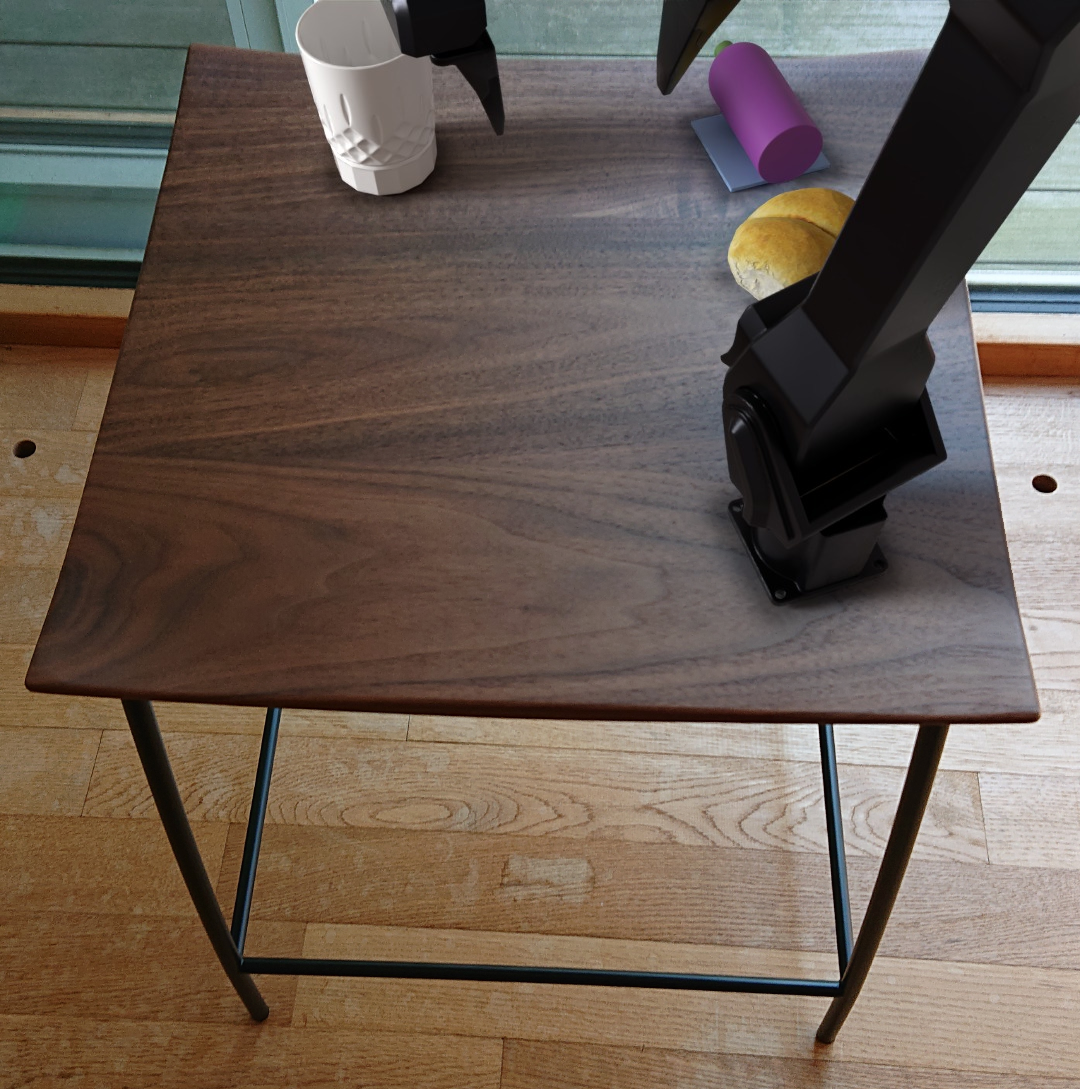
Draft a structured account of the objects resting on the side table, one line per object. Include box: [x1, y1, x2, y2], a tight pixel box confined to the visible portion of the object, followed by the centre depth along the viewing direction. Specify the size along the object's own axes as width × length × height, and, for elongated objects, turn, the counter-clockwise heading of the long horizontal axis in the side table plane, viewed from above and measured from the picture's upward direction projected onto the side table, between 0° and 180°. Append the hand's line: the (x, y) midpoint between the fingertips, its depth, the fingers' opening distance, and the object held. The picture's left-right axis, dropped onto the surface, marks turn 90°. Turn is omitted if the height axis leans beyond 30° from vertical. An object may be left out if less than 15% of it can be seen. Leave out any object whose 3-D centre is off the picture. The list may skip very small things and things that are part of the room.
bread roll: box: [727, 187, 856, 301], centre depth 65 cm, size 8×9×4 cm
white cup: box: [295, 0, 438, 196], centre depth 69 cm, size 8×8×10 cm
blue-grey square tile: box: [690, 113, 831, 193], centre depth 72 cm, size 7×7×1 cm
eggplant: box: [707, 39, 824, 184], centre depth 71 cm, size 4×4×11 cm
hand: (581, 110), depth 57 cm, fingers open, 9 cm apart
